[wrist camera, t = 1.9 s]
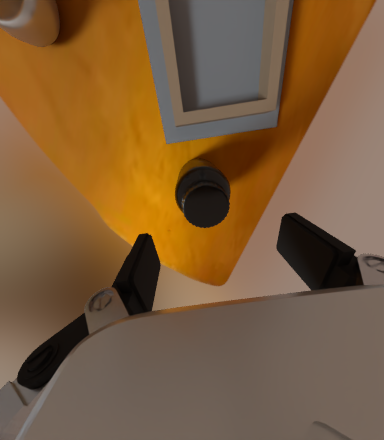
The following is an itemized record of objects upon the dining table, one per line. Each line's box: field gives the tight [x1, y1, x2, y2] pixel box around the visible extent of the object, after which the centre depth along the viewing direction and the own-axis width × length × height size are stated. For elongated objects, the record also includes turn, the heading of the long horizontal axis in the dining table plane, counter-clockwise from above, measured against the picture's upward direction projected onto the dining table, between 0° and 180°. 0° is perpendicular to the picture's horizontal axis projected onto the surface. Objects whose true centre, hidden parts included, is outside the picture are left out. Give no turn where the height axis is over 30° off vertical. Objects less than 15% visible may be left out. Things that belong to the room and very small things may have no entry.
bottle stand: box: [138, 0, 294, 144], centre depth 16 cm, size 16×16×4 cm
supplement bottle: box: [175, 159, 230, 228], centre depth 19 cm, size 7×7×12 cm
